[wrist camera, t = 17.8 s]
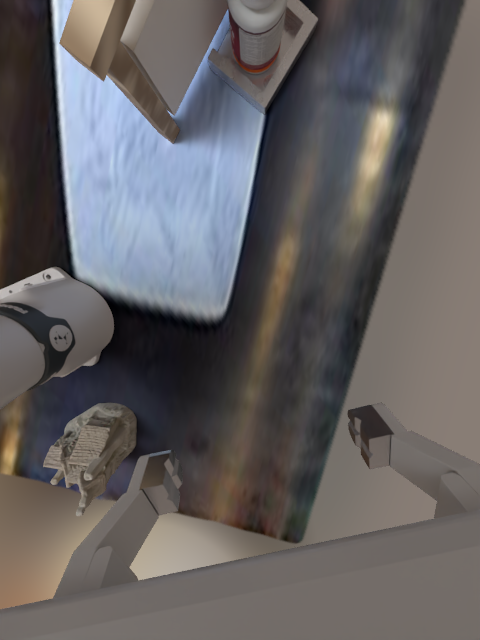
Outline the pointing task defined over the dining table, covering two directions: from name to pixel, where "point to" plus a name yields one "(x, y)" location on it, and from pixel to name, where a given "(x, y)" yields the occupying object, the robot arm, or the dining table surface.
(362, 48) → the dining table surface
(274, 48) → the pill bottle
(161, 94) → the door
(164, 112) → the door frame
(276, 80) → the keeper
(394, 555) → the robot arm
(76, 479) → the ceramic cottage
